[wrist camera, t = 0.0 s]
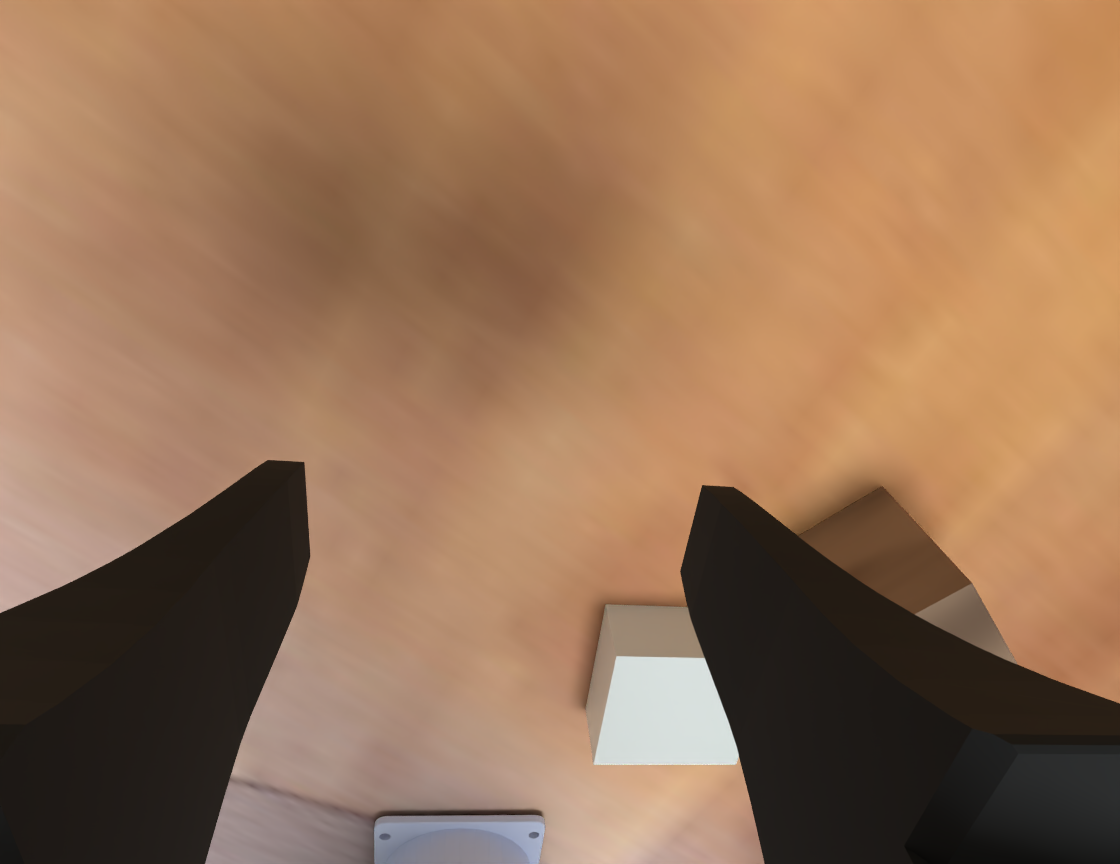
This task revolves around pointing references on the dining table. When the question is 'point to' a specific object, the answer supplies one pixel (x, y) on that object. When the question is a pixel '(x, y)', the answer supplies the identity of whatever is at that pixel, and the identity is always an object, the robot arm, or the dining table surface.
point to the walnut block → (906, 568)
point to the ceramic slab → (654, 693)
